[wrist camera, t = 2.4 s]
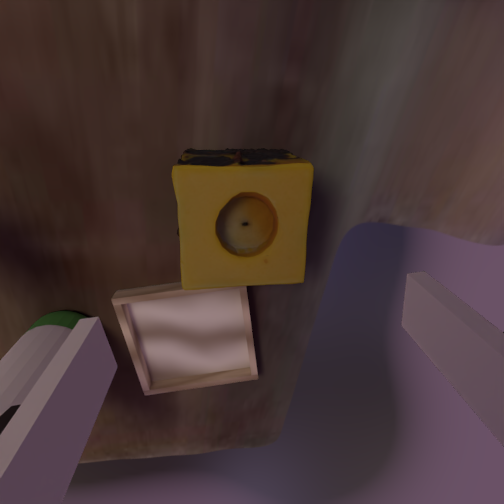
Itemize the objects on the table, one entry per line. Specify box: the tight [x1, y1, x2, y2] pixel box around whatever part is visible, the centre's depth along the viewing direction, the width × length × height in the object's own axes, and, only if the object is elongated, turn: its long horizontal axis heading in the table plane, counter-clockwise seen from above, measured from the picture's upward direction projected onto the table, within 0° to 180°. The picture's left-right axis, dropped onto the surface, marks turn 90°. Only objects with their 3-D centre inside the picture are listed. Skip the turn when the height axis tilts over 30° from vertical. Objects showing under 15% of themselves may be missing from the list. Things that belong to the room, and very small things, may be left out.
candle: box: [172, 148, 314, 290], centre depth 28 cm, size 10×10×10 cm
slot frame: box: [111, 282, 258, 396], centre depth 38 cm, size 15×15×2 cm
